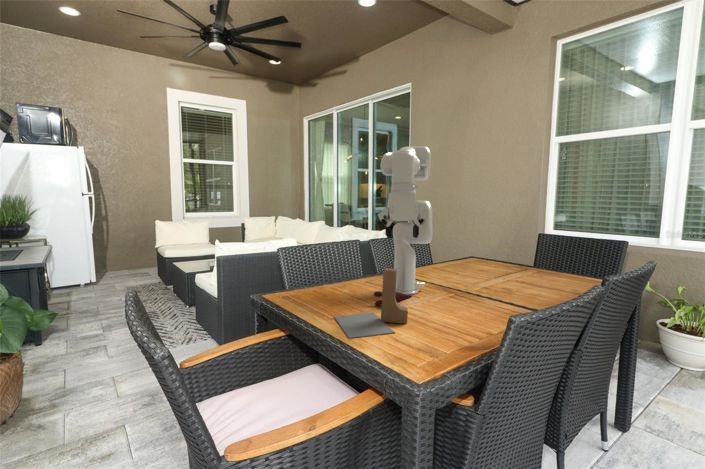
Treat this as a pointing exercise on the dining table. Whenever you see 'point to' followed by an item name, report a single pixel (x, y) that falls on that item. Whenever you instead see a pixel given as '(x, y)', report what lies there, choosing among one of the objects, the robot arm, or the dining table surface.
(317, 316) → the dining table surface
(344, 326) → the mat
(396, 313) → the wooden block
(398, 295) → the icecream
